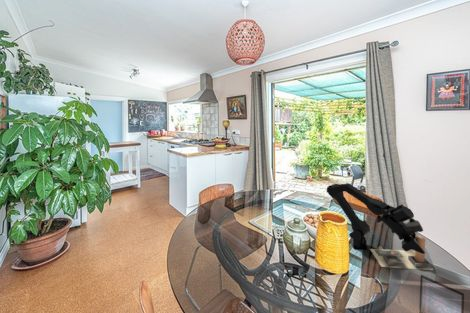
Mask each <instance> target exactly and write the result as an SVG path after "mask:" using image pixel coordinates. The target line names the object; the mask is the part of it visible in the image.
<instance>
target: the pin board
mask: <svg viewBox="0 0 470 313" xmlns="http://www.w3.org/2000/svg"><path fill="white" fill-rule="evenodd" d="M369 250H370V251H371V253H372V254H373V256H374V257H375V258H374V259H376V261H377V262H378V264H379V265H380V267H382V268H383V267H384V268H393V269H394V268H395V269H409V270H425V271H434V268H433V267H432V266H433V265H432V264H431V262H429V261H428V260H427V258H425V257H424V264H423V263H417V262H415V250H409V251H405V250H404V249H402V250H400V249H379V248H369Z"/></svg>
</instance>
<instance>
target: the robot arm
mask: <svg viewBox="0 0 470 313" xmlns="http://www.w3.org/2000/svg"><path fill="white" fill-rule="evenodd" d="M344 192H345V193H347V194H348V195H349V196H352V197H353V198H355V199H356V200H358V201H359V202H361V203H362V204H364V205H365V207H366V209H367V210H369V212H371V213H372V214H373V215H375V216H376V220H377V221H376V223H380V222H382V223H383V224H384V226H385V225H386V227H387V228H388V229H389V230H390V232H391V233H392V234H395V235H396V236H397V237H398V239H399V240H400V241H401V244H400V245H401V249H402V250H404V251H417V252H420V253H422V254H424V253H425V254H426V251H425V252H424V250H423V249H422V248H421V247H420V246H419V244H418V240H417V239H415V237H416V233H419V232H420V233H422V232H423V231H424V228H423V226H422V224H421V223H420V222H419V221H418V220H416V219H415V215H414V212H413V211H412V210H411V208H409V207H407V206H405V205H403V203H401V204H399V205H398V206H396V207H394V206H392V205H389V204H387V203H386V202H384V201H382V200H380V199H378V198H374V197H371V196H369V195H368V194H366V193H364V192H362V191H361V190H360V189H359V188H356V187H355V186H353V185H352V184H351V183H349V182H346V183H333V184H330V185H328V186H327V188H326V193H327V195H329V196H330V197H331V198H332V199H334V200H335V201H336V202H337V204H338V205H339V206H340V208H341V210H342V211H343V213H344V214H345V216H346V218H347V219H348V221H349V222H350V225H351V229H352V232H350V233H348V234H349V238H351V242H350V244H351V246H352V248H353V249H354V250H358V251H359V250H360V251H362V250H363V251H364V250H365V251H366V250H367V246H368V245H367V244H368V243H367V239H366V236H368V235H369V234H370V233H371V228H370V225H369V224H368V223H367V221H366V220H362V219H361V218H359V216H358V215H357V213H356V212H355V211H354V209H353V207H352V206H351V205H350V203H349V202H348V200H347V199H346V197H345V196H344ZM405 221H407V222H406V223H405Z"/></svg>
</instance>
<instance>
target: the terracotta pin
mask: <svg viewBox="0 0 470 313" xmlns="http://www.w3.org/2000/svg"><path fill="white" fill-rule="evenodd" d="M415 239H417V240H418V244H419V246H420V247H421V248H422V249H423V250H424V252H425V253H424V254H422V253H420V252H417V251H415V250H414V251H415V262H417V263H423V264H424V258H425V254H426V238H424V237H423V236H419V235H417V236H416V237H415Z"/></svg>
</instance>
